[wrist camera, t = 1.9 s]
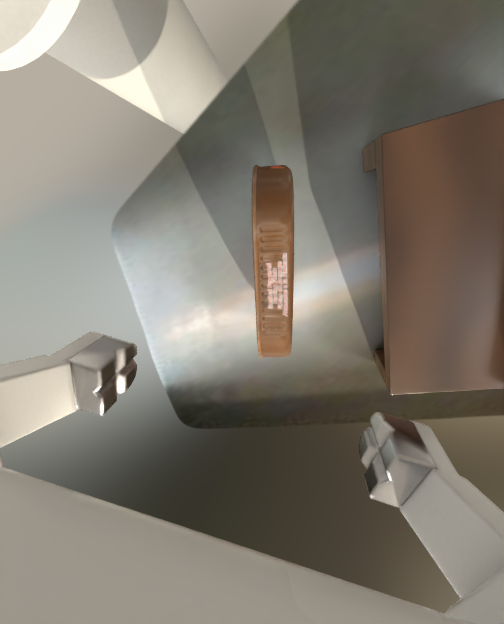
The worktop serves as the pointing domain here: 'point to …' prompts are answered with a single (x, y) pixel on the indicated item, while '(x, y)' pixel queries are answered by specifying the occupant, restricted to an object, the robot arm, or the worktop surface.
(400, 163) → the shelf
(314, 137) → the worktop surface
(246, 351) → the worktop surface
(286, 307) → the tin
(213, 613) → the robot arm
